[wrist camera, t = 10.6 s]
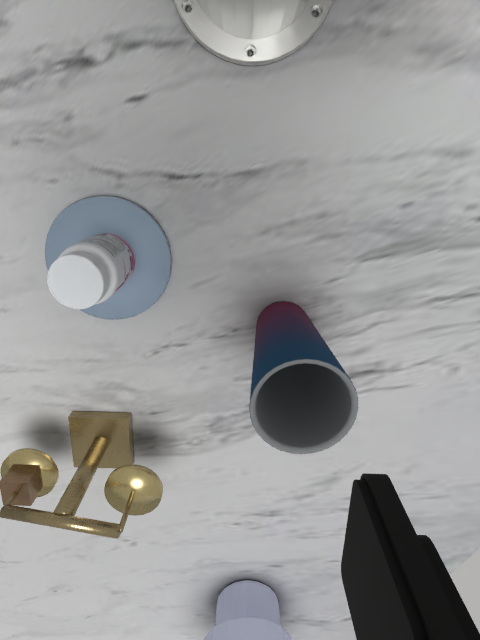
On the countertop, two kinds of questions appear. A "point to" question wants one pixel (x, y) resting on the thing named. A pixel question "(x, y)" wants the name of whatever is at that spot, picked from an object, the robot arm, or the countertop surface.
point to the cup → (298, 384)
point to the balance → (82, 476)
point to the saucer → (131, 227)
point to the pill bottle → (91, 271)
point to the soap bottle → (247, 614)
